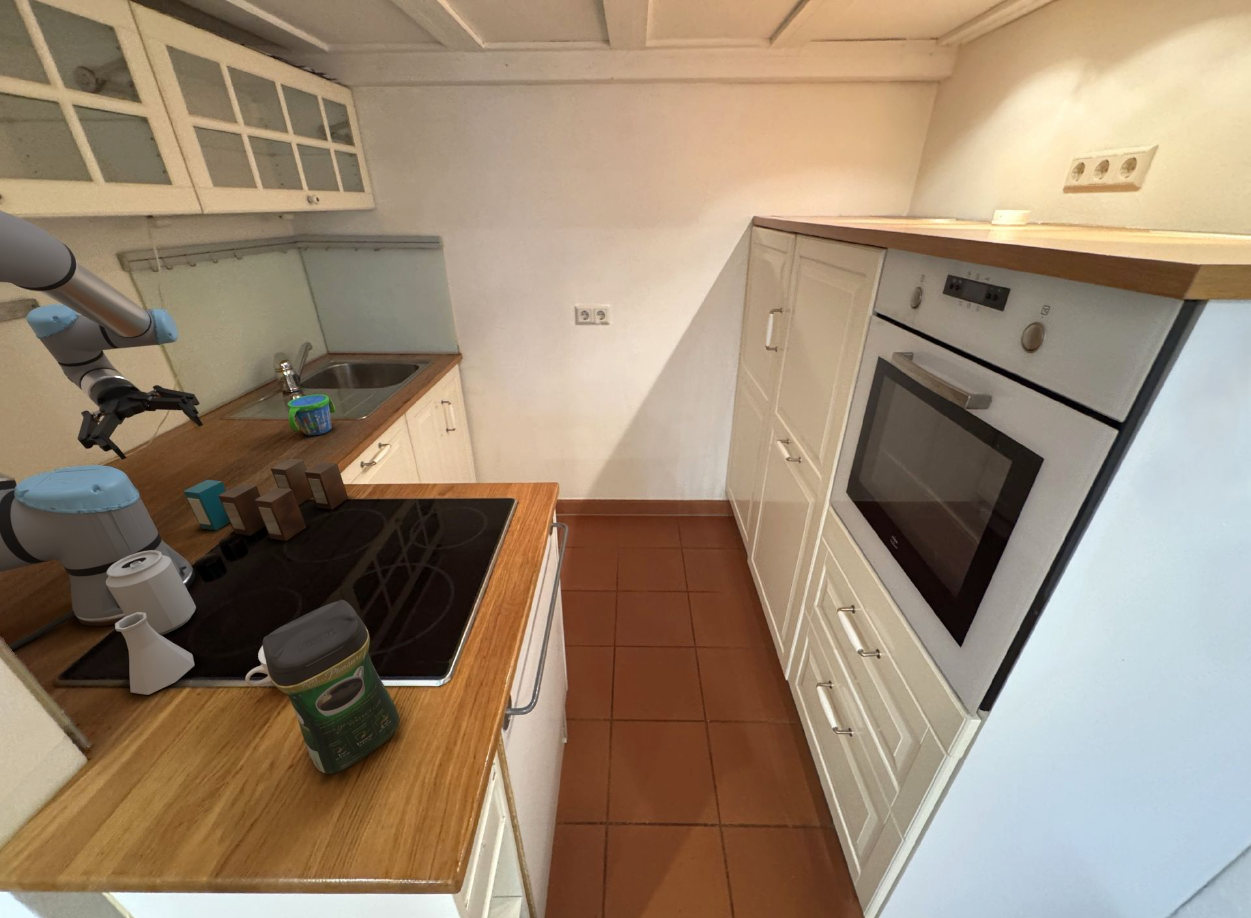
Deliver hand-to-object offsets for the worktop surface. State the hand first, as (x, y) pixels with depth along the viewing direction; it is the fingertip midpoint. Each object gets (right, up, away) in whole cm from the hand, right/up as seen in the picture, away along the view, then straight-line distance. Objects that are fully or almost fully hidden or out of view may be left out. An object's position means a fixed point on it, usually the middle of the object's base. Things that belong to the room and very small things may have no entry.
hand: (161, 436), depth 101 cm
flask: (+29, -35, -31) cm, 55 cm away
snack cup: (+1, +4, +50) cm, 50 cm away
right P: (+29, -14, +11) cm, 34 cm away
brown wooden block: (+26, -20, 0) cm, 32 cm away
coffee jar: (+62, -39, -41) cm, 83 cm away
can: (+22, -31, -22) cm, 43 cm away
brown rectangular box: (+20, -14, +13) cm, 27 cm away
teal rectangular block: (+8, -18, +4) cm, 20 cm away
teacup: (+49, -35, -32) cm, 68 cm away
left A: (+17, -19, +2) cm, 26 cm away
